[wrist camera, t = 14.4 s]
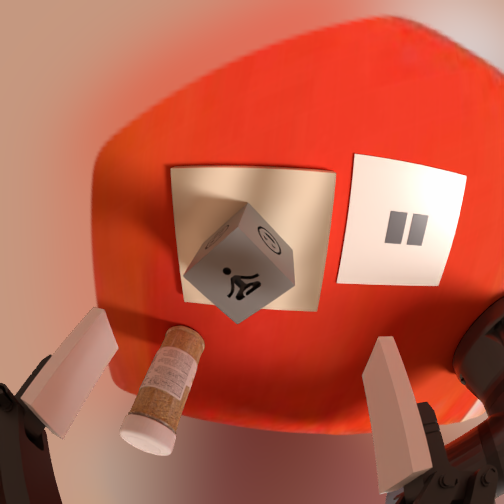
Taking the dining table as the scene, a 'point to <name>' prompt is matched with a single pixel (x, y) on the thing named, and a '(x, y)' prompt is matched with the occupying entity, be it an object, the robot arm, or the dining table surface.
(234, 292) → the dice cube
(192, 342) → the sprinkles bottle
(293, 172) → the birch coaster
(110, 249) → the dining table surface
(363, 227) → the white tile
